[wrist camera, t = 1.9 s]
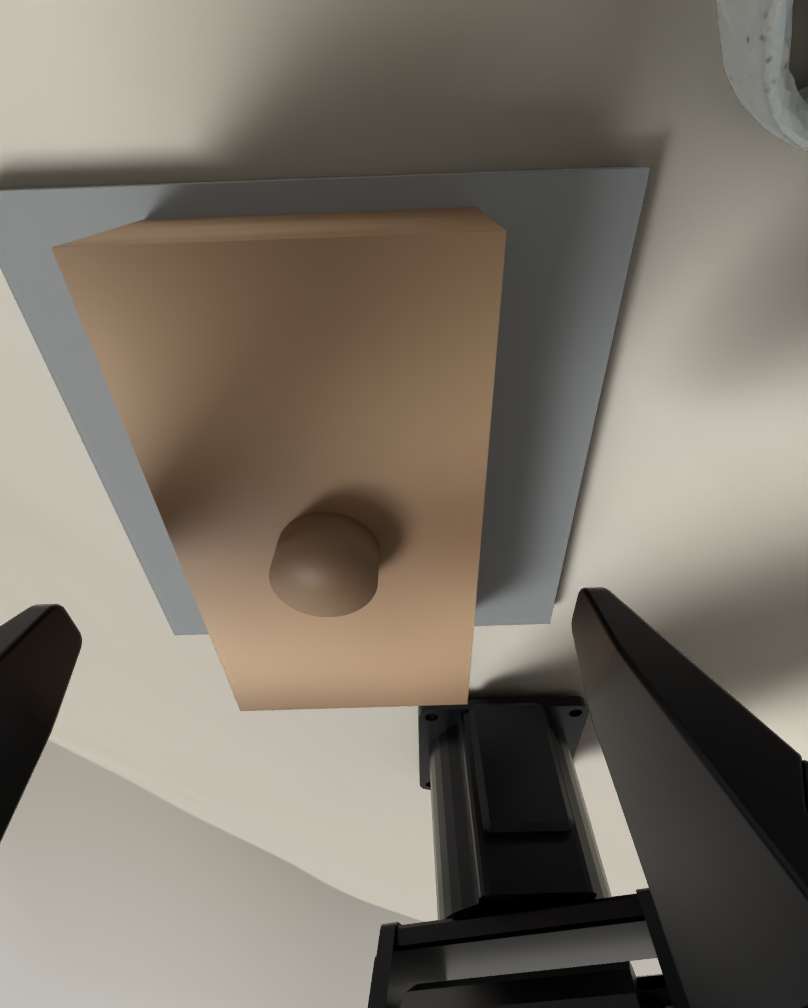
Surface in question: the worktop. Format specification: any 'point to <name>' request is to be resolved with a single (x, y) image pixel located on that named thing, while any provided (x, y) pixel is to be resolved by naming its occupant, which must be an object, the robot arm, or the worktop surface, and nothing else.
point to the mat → (519, 359)
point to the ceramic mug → (764, 65)
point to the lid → (311, 434)
